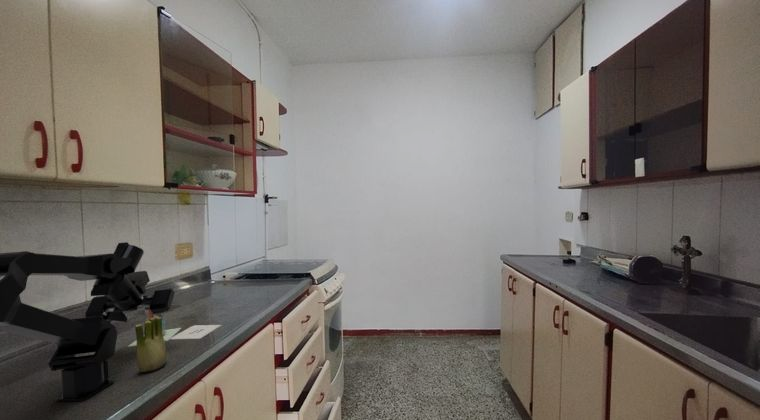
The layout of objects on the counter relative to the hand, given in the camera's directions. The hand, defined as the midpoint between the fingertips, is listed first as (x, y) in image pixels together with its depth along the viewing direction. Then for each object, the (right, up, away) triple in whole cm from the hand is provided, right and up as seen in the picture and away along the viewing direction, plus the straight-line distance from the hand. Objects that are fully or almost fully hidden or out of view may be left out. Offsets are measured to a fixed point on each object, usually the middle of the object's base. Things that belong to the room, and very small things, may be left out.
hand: (144, 318), depth 85 cm
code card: (+10, -7, +7) cm, 15 cm away
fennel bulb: (+13, -7, -14) cm, 21 cm away
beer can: (-1, -8, +5) cm, 10 cm away
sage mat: (-1, -8, +6) cm, 10 cm away
